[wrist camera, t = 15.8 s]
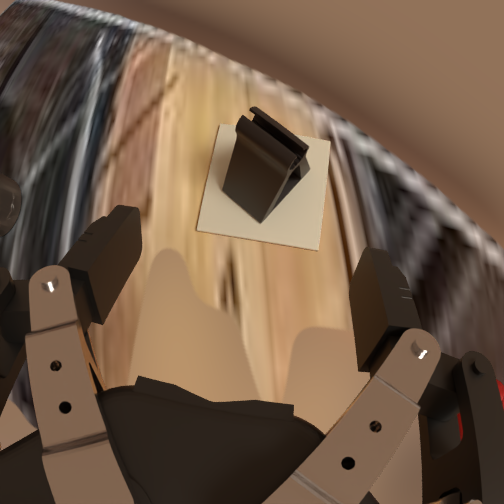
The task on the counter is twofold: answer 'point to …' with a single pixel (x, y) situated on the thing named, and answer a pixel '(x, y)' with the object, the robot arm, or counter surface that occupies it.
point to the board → (283, 216)
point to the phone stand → (264, 164)
